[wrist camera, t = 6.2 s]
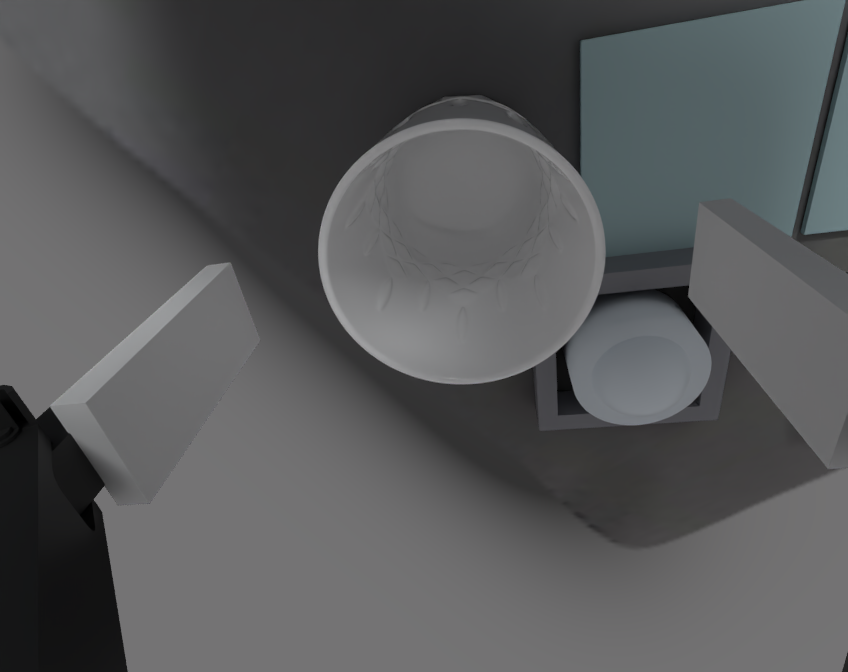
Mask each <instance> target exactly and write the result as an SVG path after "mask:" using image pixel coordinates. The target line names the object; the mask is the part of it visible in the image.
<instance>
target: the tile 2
mask: <svg viewBox="0 0 848 672" xmlns="http://www.w3.org/2000/svg"><path fill="white" fill-rule="evenodd" d="M842 230H848V34H847V38H846V42H845V46H844V51H843V55H842V59H841V63H840V67H839V72H838V76H837V80H836V84H835V89H834V93H833V97H832V101H831V105H830V110H829V114H828V118H827V122H826V127H825V131H824V135H823V139H822V143H821V148H820V152H819V156H818V160H817V165H816V169H815V173H814V177H813V181H812V186H811V190H810V194H809V198H808V202H807V207H806V211H805V215H804V219H803V224H802V228H801V233H802V234H804V235H807V234H816V233H825V232H833V231H842Z"/></svg>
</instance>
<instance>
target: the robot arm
mask: <svg viewBox="0 0 848 672" xmlns="http://www.w3.org/2000/svg"><path fill="white" fill-rule="evenodd" d="M688 297H689V299H690V300H691V301H692V302H693V304H694V305H695V306H696V307H697V308H698V310H699V311H700V312H701V313H702V315H703V316H704V317H705V318H706V319H707V321H708V322H709V323H710V324H711V326H712V327H713V328H714V329H715V331H716V332H717V333H718V334H719V335H720V337H721V338H722V339H723V340H724V342H725V343H726V344H727V345H728V347H729V348H730V349H731V350H732V351H733V353H734V354H735V355H736V356H737V358H738V359H739V360H740V361H741V363H742V364H743V365H744V366H745V367H746V369H747V370H748V371H749V372H750V374H751V375H752V376H753V377H754V379H755V380H756V381H757V382H758V383H759V385H760V386H761V387H762V388H763V390H764V391H765V392H766V393H767V395H768V396H769V397H770V398H771V399H772V401H773V402H774V403H775V404H776V406H777V407H778V408H779V409H780V411H781V412H782V413H783V414H784V415H785V417H786V418H787V419H788V420H789V422H790V423H791V424H792V425H793V427H794V428H795V429H796V430H797V431H798V433H799V434H800V435H801V436H802V438H803V439H804V440H805V441H806V443H807V444H808V445H809V446H810V447H811V449H812V450H813V451H814V452H815V454H816V455H817V456H818V457H819V459H820V460H821V461H822V462H823V463H824V465H825V466H826V467H827V468H828V469H839V468H848V272H844V271H842V270H841V269H839V268H838V267H836V266H835V265H833V264H832V263H830V262H829V261H827V260H825V259H824V258H822V257H821V256H819V255H818V254H816V253H815V252H813V251H812V250H810V249H809V248H807V247H805V246H804V245H802V244H801V243H799V242H798V241H796V240H795V239H793V238H792V237H790V236H788V235H787V234H785V233H784V232H782V231H781V230H779V229H778V228H776V227H775V226H773V225H771V224H770V223H768V222H767V221H765V220H764V219H762V218H761V217H759V216H758V215H756V214H754V213H753V212H751V211H750V210H748V209H747V208H745V207H744V206H742V205H741V204H739V203H738V202H736V201H734V200H733V199H731V198H728V199H721V200H713V201H705V202H699V207H698V216H697V224H696V233H695V241H694V250H693V258H692V267H691V275H690V284H689V292H688ZM259 342H260V338H259V335H258V333H257V330H256V327H255V325H254V322H253V319H252V317H251V314H250V312H249V309H248V306H247V304H246V301H245V299H244V296H243V293H242V291H241V288H240V286H239V283H238V280H237V278H236V275H235V272H234V270H233V267H232V265H231V262H229V263H222V264H214V265H207V266H206V267H205V268H204V269H202V270H201V271H200V272H199V273H198V274H197V275H196V276H195V277H193V278H192V279H191V280H190V281H189V282H188V283H187V284H186V285H185V286H184V287H182V288H181V289H180V290H179V291H178V292H177V293H176V294H175V295H173V296H172V297H171V298H170V299H169V300H168V301H167V302H165V304H163V305H162V306H161V307H160V308H159V309H158V310H157V311H155V312H154V313H153V314H152V315H151V316H150V317H149V318H148V319H147V320H145V321H144V322H143V323H142V324H141V325H140V326H139V327H137V328H136V329H135V330H134V331H133V332H132V333H131V334H130V335H129V336H127V337H126V338H125V339H124V340H123V341H122V342H121V343H120V344H119V345H117V346H116V347H115V348H114V349H113V350H112V351H111V352H109V353H108V354H107V355H106V356H105V357H104V358H103V359H102V360H101V361H99V362H98V363H97V364H96V365H95V366H94V367H93V368H92V369H91V370H89V371H88V372H87V373H86V374H85V375H84V376H83V377H81V378H80V379H79V380H78V381H77V382H76V383H75V384H74V385H73V386H72V387H70V388H69V389H68V390H67V391H66V392H65V393H64V394H63V395H61V396H60V397H59V398H58V399H57V400H56V401H55V402H53V403H52V404H51V405H50V407H49V408H48V409H47V410H46V411H45V412H44V413H43V414H42V415H41V416H39V417H38V418H37V419H35V418H34V416H33V415H32V413H31V412H30V411H29V409H28V408H27V406H26V405H25V404H24V402H23V401H22V400H21V398H20V397H19V395H18V394H17V393H16V391H15V390H14V388H13V387H12V386H7V385H1V386H0V672H128V671H127V666H126V659H125V653H124V647H123V640H122V634H121V627H120V621H119V615H118V609H117V603H116V597H115V590H114V584H113V578H112V571H111V565H110V559H109V553H108V546H107V541H106V534H105V528H104V522H103V515H102V511H101V510H100V508H99V507H98V505H97V504H96V502H95V501H94V500H93V499H94V498H95V497H96V496H97V494H98V493H99V492H100V491H101V489H102V488H103V487H104V486H105V487H106V488H107V490H108V492H109V493H110V495H111V496H112V497H113V499H114V500H115V502H116V503H117V505H133V504H150V503H151V501H152V500H153V498H154V497H155V495H156V494H157V492H158V491H159V489H160V488H161V486H162V485H163V483H164V482H165V480H166V479H167V478H168V476H169V475H170V473H171V471H172V470H173V469H174V467H175V466H176V464H177V463H178V461H179V460H180V458H181V457H182V455H183V454H184V452H185V451H186V450H187V448H188V447H189V445H190V444H191V442H192V441H193V439H194V438H195V436H196V435H197V433H198V432H199V430H200V429H201V427H202V426H203V424H204V423H205V421H206V420H207V418H208V417H209V416H210V414H211V412H212V411H213V410H214V408H215V407H216V405H217V404H218V402H219V401H220V399H221V398H222V396H223V395H224V393H225V392H226V391H227V389H228V388H229V386H230V385H231V383H232V382H233V380H234V379H235V377H236V376H237V374H238V373H239V371H240V370H241V368H242V367H243V365H244V364H245V362H246V361H247V359H248V358H249V357H250V355H251V353H252V352H253V351H254V349H255V348H256V346H257V345H258V343H259ZM842 672H848V653H847V657H846V660H845V664H844V667H843V671H842Z"/></svg>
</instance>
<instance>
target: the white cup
mask: <svg viewBox="0 0 848 672" xmlns="http://www.w3.org/2000/svg"><path fill="white" fill-rule="evenodd" d="M605 257H606V245H605V234H604V228H603V223H602V219H601V216H600V213H599V210H598V207H597V204H596V202H595V200H594V198H593V196H592V194H591V192H590V190H589V188H588V186H587V185H586V183H585V182H584V180H583V179H582V177H581V176H580V175H579V173H578V172H577V171H576V170H575V168H574V167H573V166H572V165H571V164H570V163H569V162H568V161H567V160H566V159H565V158H564V157H563V156H562V155H561V154H560V153H559V152H558V151H557V150H556V148H555V147H554V146H553V145H552V144H551V143H550V142H549V141H548V140H547V139H546V138H545V136H544V135H543V134H542V133H541V132H540V131H539V130H538V129H537V128H536V127H534V126H533V125H532V124H531V123H530V122H529V121H528V120H526V119H525V118H524V117H523V116H521V115H520V114H518V113H517V112H516V111H514V110H512V109H511V108H509V107H507V106H505V105H503V104H500V103H498V102H496V101H493V100H491V99H489V98H487V97H485V96H483V95H468V96H450V97H443V98H441V99H439V100H438V101H436V102H434V103H432V104H430V105H427V106H425V107H423V108H421V109H419V110H417V111H416V112H414V113H413V114H411V115H410V116H409V117H407V118H406V119H404V120H403V121H401V122H400V123H399V124H397V125H396V126H395V127H394V128H393V129H391V130H390V131H389V132H388V133H387V134H386V135H385V136H384V137H383V138H382V139H381V140H379V141H378V142H377V143H376V144H375V145H374V146H373V147H372V148H370V149H369V150H368V151H367V152H366V153H365V154H363V155H362V156H361V157H360V158H359V159H358V160H357V161H356V162H355V163H354V164H353V165H352V166H351V167H350V169H349V170H348V171H347V172H346V173H345V175H344V176H343V177H342V179H341V180H340V182H339V183H338V185H337V186H336V188H335V190H334V192H333V194H332V196H331V198H330V200H329V202H328V204H327V207H326V210H325V212H324V216H323V219H322V223H321V228H320V233H319V242H318V261H319V270H320V276H321V280H322V284H323V288H324V291H325V294H326V296H327V299H328V301H329V304H330V306H331V308H332V310H333V312H334V313H335V315H336V317H337V318H338V320H339V321H340V323H341V324H342V326H343V327H344V328H345V330H346V331H347V332H348V333H349V335H350V336H351V337H352V338H353V339H354V340H355V341H356V342H357V343H358V344H359V345H360V346H361V347H362V348H363V349H365V350H366V351H367V352H368V353H370V354H371V355H372V356H374V357H375V358H377V359H378V360H379V361H381V362H383V363H384V364H386V365H388V366H390V367H391V368H393V369H396V370H398V371H400V372H402V373H405V374H407V375H410V376H413V377H416V378H419V379H423V380H427V381H432V382H437V383H445V384H478V383H486V382H492V381H496V380H500V379H504V378H507V377H511V376H513V375H516V374H519V373H521V372H523V371H526V370H528V369H530V368H532V367H534V366H536V365H537V364H539V363H541V362H542V361H544V360H545V359H547V358H548V357H550V356H551V355H553V354H554V353H555V352H556V351H558V350H559V349H560V348H561V347H562V346H563V345H564V344H565V343H567V342H568V340H569V339H570V338H571V337H572V336H573V335H574V334H575V333H576V332H577V330H578V329H579V328H580V326H581V325H582V324H583V322H584V321H585V319H586V318H587V316H588V314H589V313H590V311H591V309H592V307H593V305H594V303H595V300H596V298H597V295H598V293H599V290H600V287H601V283H602V279H603V274H604V268H605Z"/></svg>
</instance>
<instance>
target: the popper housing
mask: <svg viewBox="0 0 848 672" xmlns="http://www.w3.org/2000/svg"><path fill="white" fill-rule="evenodd" d="M693 250H694V247H692V248H683V249H675V250H666V251H657V252H648V253H639V254H630V255H622V256H613V257H605V268H604V274H603V279H602V283H601V287H600V290H599V293H598V295H599V294H609V293H619V292H629V291H638V290H648V289H658V288H668V287H677V286H687V285H689V284H690V275H691V267H692V258H693ZM693 326H694V327H695V329H696V330H697V331H698V333H699V334H700V336H701V337H702V338H703V340H704V341H705V343H706V344H707V346H708V348H709V351H710V355H711V362H712V364H711V372H710V376H709V379H708V381H707V384H706V386H705V387H704V389H703V391H702V392H701V393H700V394H699V396H698V397H697V398H696V399H695V400H694V401H693V402H692V403H691V404H690V405H688V406H687V407H686V408H684V409H683V410H681V411H680V412H678V413H676V414H674V415H673V416H671V417H668V418H666V419H663V420H660V421H657V422H654V423H649V424H660V423H676V422H692V421H708V420H718V418H719V412H720V407H721V402H722V396H723V391H724V385H725V380H726V375H727V369H728V364H729V359H730V353H731V349H730V348H729V347H728V345H727V344H726V343H725V342H724V340H723V339H722V338H721V337H720V335H719V334H718V333H717V332H716V331H715V329H714V328H713V327H712V326H711V324H710V323H709V322H708V321H707V319H706V318H705V317H704V316H703V315H702V313H701V312H700V311H699V310H698V308H697V307H696V308H695V316H694V323H693ZM533 373H534V389H535V405H536V413H537V419H538V425H539V431H548V430H564V429H580V428H596V427H612V426H628V425H619V424H613V423H609V422H606V421H603V420H601V419H599V418H597V417H595V416H593V415H591V414H590V413H589V412H588V411H586V410H585V409H584V408H583V407H582V406H581V404H580V403H579V401H578V400H577V398H576V396H575V394H574V391H560V392H557V371H556V352H555V353H554V354H553V355H551V356H550V357H548V358H547V359H545V360H544V361H542V362H541V363H539V364H537V365H536V366H534V367H533ZM643 425H644V424H643Z"/></svg>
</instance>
